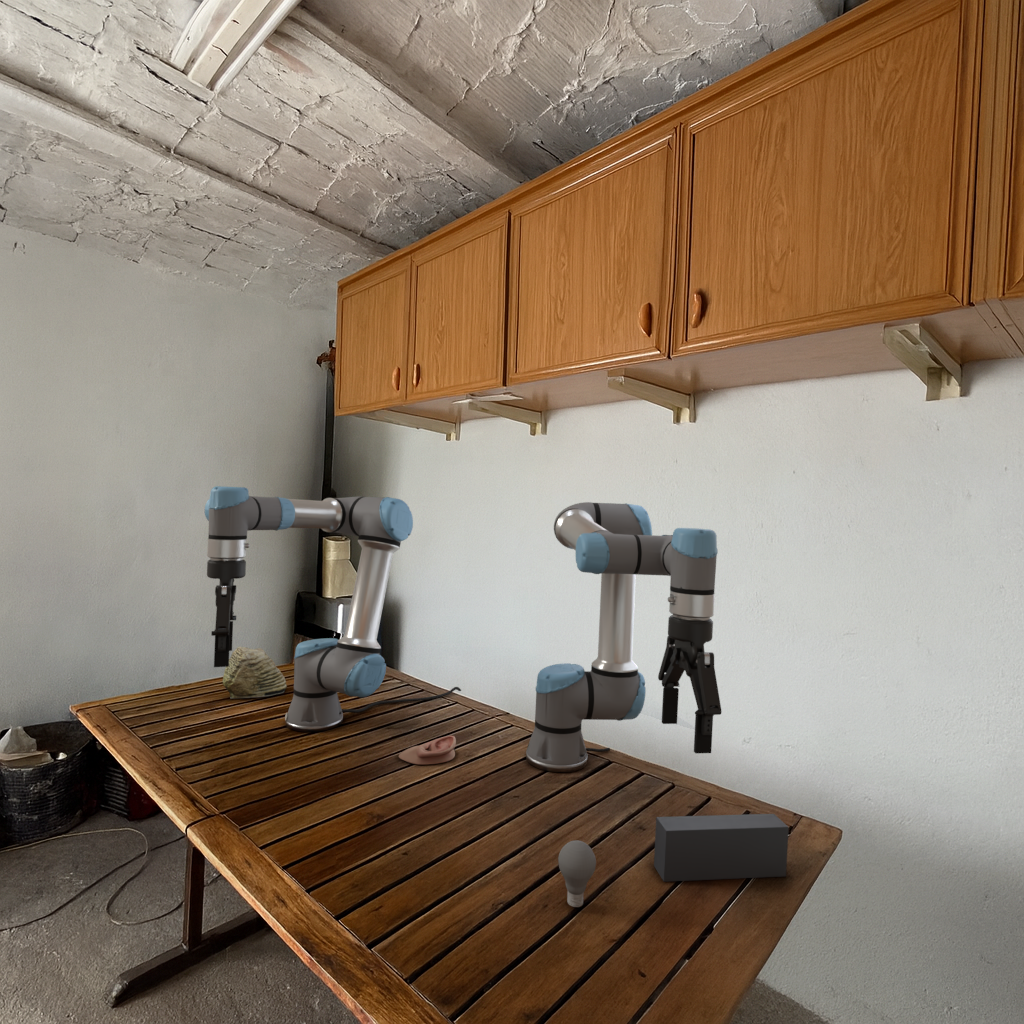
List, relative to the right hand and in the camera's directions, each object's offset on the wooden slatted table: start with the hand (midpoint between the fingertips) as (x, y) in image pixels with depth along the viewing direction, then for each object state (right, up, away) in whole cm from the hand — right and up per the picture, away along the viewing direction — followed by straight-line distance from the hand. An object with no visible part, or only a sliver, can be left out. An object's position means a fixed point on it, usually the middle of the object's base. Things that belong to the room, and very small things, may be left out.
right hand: (684, 737), depth 111 cm
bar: (+7, -25, +2) cm, 25 cm away
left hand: (-92, +8, +24) cm, 95 cm away
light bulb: (-20, -24, -10) cm, 33 cm away
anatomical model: (-51, -21, +46) cm, 72 cm away
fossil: (-111, -18, +87) cm, 142 cm away
